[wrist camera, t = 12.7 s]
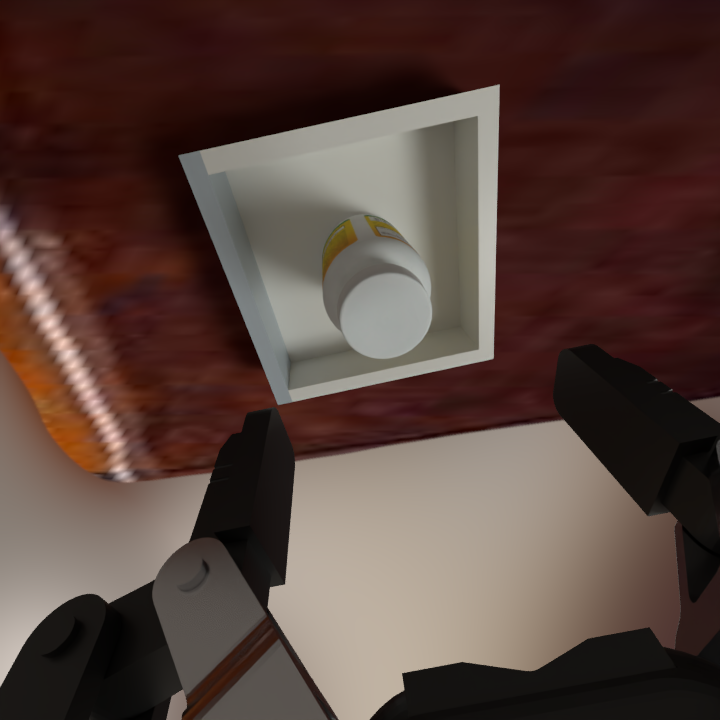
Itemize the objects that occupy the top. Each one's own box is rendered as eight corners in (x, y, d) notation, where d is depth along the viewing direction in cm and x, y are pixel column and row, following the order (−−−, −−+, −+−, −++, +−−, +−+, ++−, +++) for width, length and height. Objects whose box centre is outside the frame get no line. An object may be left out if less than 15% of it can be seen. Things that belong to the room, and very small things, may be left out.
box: (467, 95, 19) (499, 84, 16) (471, 332, 27) (493, 358, 24) (202, 153, 20) (178, 155, 16) (282, 372, 27) (278, 404, 24)
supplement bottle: (398, 204, 22) (448, 241, 13) (407, 287, 24) (453, 359, 16) (311, 222, 22) (309, 270, 13) (331, 303, 24) (338, 383, 16)
